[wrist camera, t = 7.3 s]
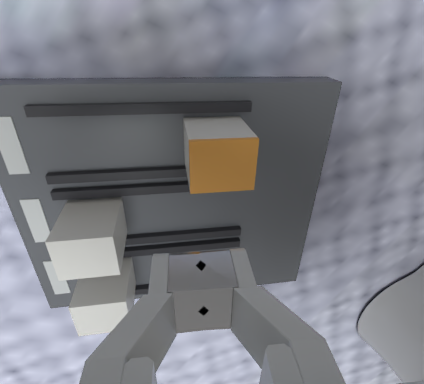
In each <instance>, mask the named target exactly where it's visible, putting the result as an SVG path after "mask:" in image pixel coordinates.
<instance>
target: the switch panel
mask: <svg viewBox="0 0 424 384" xmlns="http://www.w3.org/2000/svg"><path fill="white" fill-rule="evenodd" d="M341 85H342V82H341V81H338V80H335V79H331V78H328V77H246V78H89V79H0V185H1V188H2V190H3V193H4V195H5V197H6V200H7V202H8V205H9V207H10V210H11V212H12V215H13V217H14V220H15V222H16V224H17V227H18V229H19V232H20V234H21V237H22V239H23V242H24V244H25V247H26V249H27V251H28V254H29V256H30V259H31V261H32V264H33V266H34V269H35V271H36V274H37V276H38V278H39V281H40V283H41V286H42V288H43V291H44V293H45V296H46V298H47V301H48V303H49V305H50V308H58V307H66V306H69V311H70V313H71V316H72V319H73V322H74V325H75V327H76V330H77V333H78V336H85V335H93V334H101V333H109V332H111V331H112V330H113V329H114V328H115V327H116V326H117V324H118V323H119V322H120V321H121V320H122V319H123V318H124V316H125V315H126V314H127V313H128V312H129V311H130V309H131V308H132V307H133V306H134V299H137V298H141V297H142V296H143V295H148V290H149V281H150V272H151V263H152V257H153V254H162V253H178V252H200V251H214V250H229V249H238V248H244V249H245V250H246V252H247V255H248V259H249V262H250V265H251V268H252V272H253V275H254V278H255V282H256V285H262V284H271V283H279V282H288V281H296V278H297V273H298V269H299V265H300V260H301V256H302V252H303V248H304V243H305V239H306V235H307V230H308V226H309V222H310V218H311V213H312V209H313V205H314V200H315V196H316V192H317V188H318V183H319V179H320V175H321V170H322V166H323V162H324V158H325V153H326V149H327V145H328V140H329V136H330V132H331V128H332V123H333V119H334V115H335V110H336V106H337V102H338V98H339V93H340V89H341ZM223 116H240V117H241V118H242V119H243V121H244V122H245V123H246V124H247V125H248V126H249V128H250V129H251V130H252V131H253V132H254V133H255V134H256V136H257V137H258V138H259V148H258V157H257V167H256V176H255V186H254V190H245V191H229V192H214V193H198V194H190V189H189V183H188V178H187V172H186V166H185V156H184V127H183V118H185V117H223Z"/></svg>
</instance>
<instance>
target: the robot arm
mask: <svg viewBox="0 0 424 384" xmlns="http://www.w3.org/2000/svg"><path fill="white" fill-rule="evenodd" d="M230 328H231V331H232V332H233V333H234V334H235V336H236V337H237V338H238V340H239V341H240V342H241V343H242V345H243V346H244V347H245V348H246V350H247V351H248V352H249V354H250V355H251V356H252V357H253V359H254V360H255V361H256V362H257V364H258V365H259V366H260V368H261V369H262V371H261V376H260V382H259V384H346V383H345V381H344V379H343V377H342V375H341V372H340V370H339V368H338V366H337V364H336V362H335V359H334V357H333V355H332V353H331V351H330V349H329V347H328V344H327V342H326V340H325V338H323V337H322V336H321V335H320V334H319V333H317V332H316V331H315V330H314V329H313V328H311V327H310V326H309V325H308V324H307V323H305V322H304V321H303V320H302V319H301V318H299V317H298V316H297V315H296V314H295V313H293V312H292V311H291V310H290V309H289V308H287V307H286V306H285V305H284V304H283V303H281V302H280V301H279V300H278V299H277V298H275V297H274V296H273V295H272V294H271V293H269V292H268V291H267V290H266V289H265V288H263V287H262V286H257V285H256V282H255V278H254V275H253V272H252V268H251V265H250V262H249V259H248V255H247V252H246V250H245V249H244V248H238V249H229V250H214V251H200V252H178V253H162V254H153V257H152V263H151V272H150V281H149V290H148V295H143V296H142V297H141V298H140V299H139V300H138V301H137V303H136V304H135V305H134V306H133V307H132V308H131V309H130V311H129V312H128V313H127V314H126V315H125V316H124V318H123V319H122V320H121V321H120V322H119V323H118V324H117V326H116V327H115V328H114V329H113V330H112V331H111V332H110V334H109V335H108V336H107V337H106V338H105V339H104V340H103V342H102V343H101V344H100V345H99V346H98V347H97V348H96V350H95V351H94V352H93V353H92V354H91V355H90V356H89V358H88V359H87V360H86V361H85V365H84V368H83V372H82V375H81V379H80V383H79V384H157V380H156V374H155V373H156V371H157V369H158V368H159V366H160V364H161V362H162V360H163V359H164V357H165V355H166V353H167V351H168V350H169V348H170V346H171V344H172V342H173V341H174V339H175V337H176V333H184V332H192V331H201V330H214V329H230ZM358 334H359V336H360V337H361V338H362V339H363V340H364V341H365V342H366V343H367V344H368V345H369V346H370V347H371V348H372V349H373V350H374V351H375V352H376V353H377V354H378V355H379V356H380V357H381V358H382V359H383V360H384V361H385V362H386V363H387V364H388V366H389V367H390V368H391V369H392V370H393V371H394V372H395V374H396V375H397V376H398V377H399V378H400V380H401V381H402V382H403V383H398V384H424V265H423V266H422V267H421V268H419V269H418V270H417V271H416V272H414V273H413V274H411V275H409V276H408V277H406V278H404V279H402V280H400V281H398V282H396V283H395V284H393V285H391V286H390V287H388V288H387V289H385V290H384V291H383V292H381V293H380V294H379V295H378V296H377V297H376V298H375V299H374V300H372V302H371V303H370V304H369V305H368V306H367V307H366V309H365V310H364V311H363V313H362V315H361V317H360V319H359V322H358Z"/></svg>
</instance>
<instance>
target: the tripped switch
mask: <svg viewBox="0 0 424 384" xmlns="http://www.w3.org/2000/svg"><path fill="white" fill-rule="evenodd" d="M183 127H184V156H185V166H186V172H187V178H188V183H189V189H190V194H198V193H214V192H229V191H245V190H254V186H255V176H256V167H257V157H258V148H259V138H258V137H257V136H256V134H255V133H254V132H253V131H252V130H251V129H250V128H249V126H248V125H247V124H246V123H245V122H244V121H243V119H242V118H241V117H240V116H223V117H185V118H183Z"/></svg>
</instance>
